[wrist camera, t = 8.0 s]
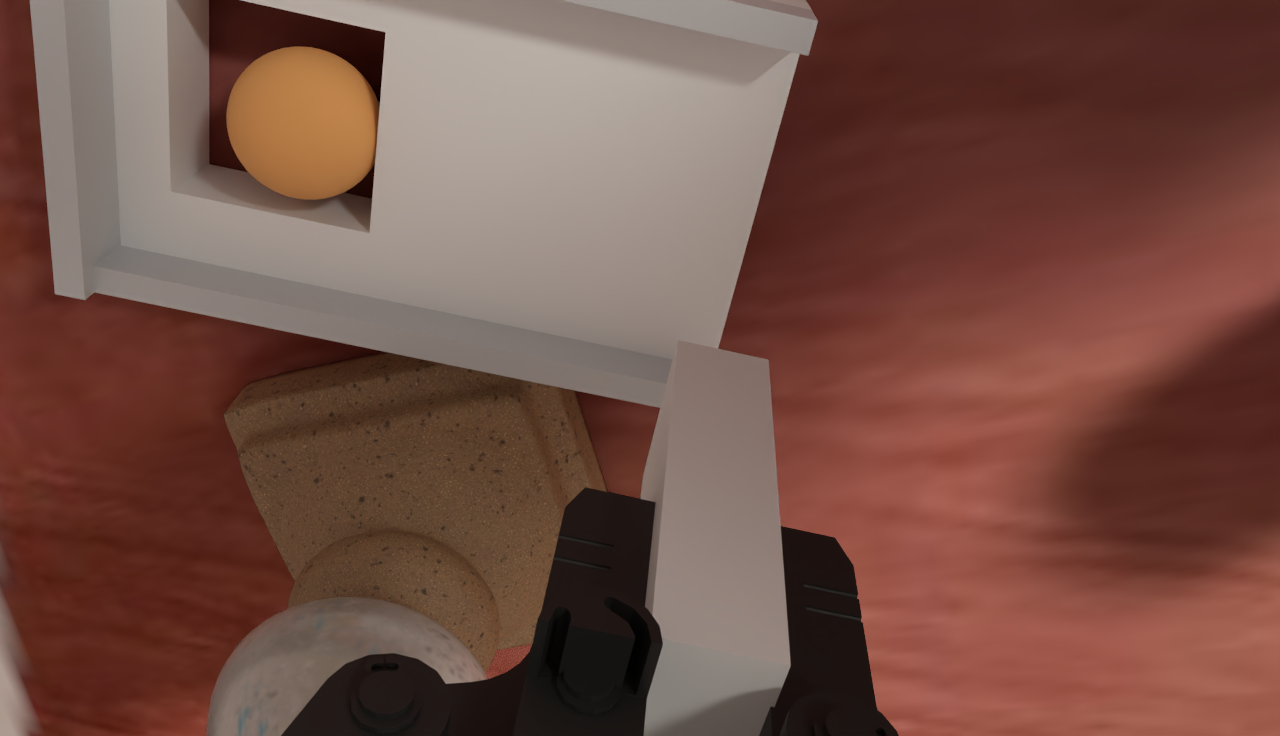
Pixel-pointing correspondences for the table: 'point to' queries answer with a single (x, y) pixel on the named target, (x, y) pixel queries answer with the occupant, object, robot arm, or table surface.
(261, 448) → the candle holder
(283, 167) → the ball
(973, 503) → the table surface
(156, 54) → the tray
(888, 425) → the table surface
